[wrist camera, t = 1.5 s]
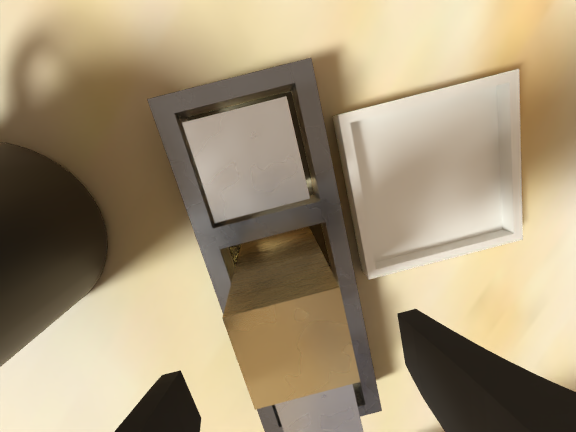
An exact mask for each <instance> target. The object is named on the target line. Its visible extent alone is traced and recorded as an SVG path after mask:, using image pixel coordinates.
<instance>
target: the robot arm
mask: <svg viewBox="0 0 576 432" xmlns="http://www.w3.org/2000/svg"><path fill="white" fill-rule="evenodd" d="M398 321H399V327H400V333H401V339H402V346H403V352H404V358H405V364H406V366H407V368H408V370H409V372H410V374H411V376H412V378H413V380H414V382H415V384H416V386H417V387H418V389H419V391H420V393H421V395H422V397H423V398H424V400H425V402H426V403H427V405H428V406H429V408H430V409H431V411H432V412H433V414H434V415H435V417H436V418H437V420H438V421H439V423H440V424H441V426H442V427H443V429H444V431H445V432H576V392H574V391H572V390H569V389H567V388H565V387H562V386H560V385H558V384H556V383H553V382H551V381H549V380H547V379H544V378H542V377H540V376H538V375H536V374H534V373H532V372H530V371H528V370H526V369H524V368H522V367H520V366H517V365H515V364H513V363H511V362H509V361H507V360H505V359H503V358H501V357H500V356H498V355H496V354H494V353H492V352H490V351H488V350H486V349H484V348H483V347H481V346H479V345H477V344H475V343H473V342H472V341H470V340H468V339H466V338H465V337H463V336H461V335H459V334H458V333H456V332H454V331H452V330H451V329H449V328H447V327H446V326H444V325H442V324H440V323H439V322H437V321H435V320H434V319H432V318H430V317H429V316H427V315H425V314H424V313H422V312H420V311H418V310H417V309H413V310H410V311H406V312H402V313H398ZM200 424H201V417H200V414H199V412H198V410H197V407H196V405H195V403H194V400H193V398H192V396H191V393H190V391H189V389H188V386H187V384H186V382H185V379H184V377H183V375H182V373H181V370H180V371H176V372H173V373H169V374H165V375H162V376H161V377H160V378H159V379H158V380H157V381H156V383H155V384H154V385H153V386H152V387H151V388H150V390H149V391H148V392H147V393H146V394H145V396H144V397H143V398H142V399H141V400H140V402H139V403H138V404H137V405H136V406H135V408H134V409H133V410H132V411H131V413H130V414H129V415H128V416H127V417H126V419H125V420H124V421H123V422H122V423H121V424H120V426H119V427H118V428H117V429H116V430H115V432H200Z"/></svg>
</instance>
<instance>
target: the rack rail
mask: <svg viewBox="0 0 576 432" xmlns="http://www.w3.org/2000/svg"><path fill="white" fill-rule="evenodd" d="M289 91H291V92H292V97H293V101H294V105H295V110H296V114H297V119H298V123H299V128H300V132H301V137H302V141H303V146H304V150H305V155H306V159H307V164H308V168H309V173H310V177H311V181H312V186H313V190H314V194H311V195H309V192H308V188H307V183H306V179H305V175H304V170H303V166H302V162H301V157H300V153H299V149H298V144H297V140H296V135H295V131H294V127H293V122H292V118H291V114H290V109H289V105H288V100H287V96H285V97H281V98H277V99H274V100H270V101H266V102H262V103H258V104H254V105H250V106H246V107H242V108H238V109H234V110H230V111H226V112H222V113H218V114H214V115H210V116H206V117H203V118H199V119H195V120H191V121H188V119H187V117H191V116H195V115H199V114H202V113H206V112H210V111H214V110H218V109H222V108H226V107H230V106H234V105H238V104H242V103H246V102H250V101H254V100H258V99H262V98H266V97H270V96H274V95H277V94H281V93H285V92H289ZM147 100H148V103H149V106H150V108H151V111H152V114H153V117H154V120H155V123H156V125H157V128H158V131H159V134H160V137H161V140H162V142H163V145H164V148H165V151H166V154H167V156H168V159H169V162H170V165H171V168H172V171H173V173H174V176H175V179H176V182H177V185H178V188H179V190H180V193H181V196H182V199H183V202H184V205H185V207H186V210H187V213H188V216H189V219H190V221H191V224H192V227H193V230H194V233H195V236H196V238H197V241H198V244H199V247H200V250H201V253H202V255H203V258H204V261H205V264H206V267H207V270H208V272H209V275H210V278H211V281H212V284H213V286H214V289H215V292H216V295H217V298H218V301H219V303H220V306H221V309H222V312H223V314H224V310H225V306H226V302H227V298H228V294H229V290H230V286H231V282H232V278H233V274H234V270H235V264H234V261H233V258H232V255H231V252H230V249H229V247H230V246H234V245H238V244H242V243H246V242H250V241H254V240H257V239H261V238H265V237H269V236H273V235H277V234H281V233H285V232H289V231H292V230H296V229H300V228H304V227H308V226H312V225H316V224H320V223H321V226H322V231H323V235H324V240H325V244H326V249H327V253H328V258H329V262H330V266H331V271H332V273H333V275H334V277H335V279H336V281H337V283H338V285H339V287H340V291H341V296H342V300H343V305H344V309H345V314H346V319H347V323H348V328H349V332H350V337H351V341H352V346H353V351H354V355H355V360H356V364H357V369H358V373H359V378H360V382H358V383H354V384H350V385H346V386H343V387H339V388H335V389H331V390H327V391H324V392H320V393H316V394H312V395H308V396H305V397H301V398H297V399H293V400H289V401H286V402H282V403H278V404H274V405H271V406H267V407H263V408H259V409H257V411H258V414H259V416H260V419H261V422H262V425H263V428H264V431H265V432H363V428H362V424H361V419H360V416H364V415H368V414H371V413H375V412H379V411H382V409H381V404H380V399H379V394H378V389H377V384H376V379H375V374H374V369H373V364H372V359H371V354H370V349H369V344H368V339H367V334H366V329H365V324H364V319H363V314H362V309H361V304H360V299H359V294H358V289H357V284H356V279H355V274H354V269H353V264H352V259H351V254H350V249H349V244H348V239H347V234H346V229H345V224H344V219H343V214H342V209H341V204H340V199H339V194H338V189H337V184H336V179H335V174H334V169H333V164H332V159H331V154H330V149H329V144H328V139H327V134H326V129H325V124H324V119H323V114H322V109H321V104H320V99H319V94H318V89H317V84H316V79H315V74H314V69H313V64H312V59H311V58H308V59H304V60H300V61H296V62H292V63H288V64H285V65H281V66H277V67H273V68H269V69H265V70H261V71H257V72H253V73H249V74H245V75H241V76H237V77H233V78H229V79H225V80H221V81H217V82H213V83H209V84H205V85H201V86H197V87H193V88H189V89H185V90H182V91H178V92H174V93H170V94H166V95H162V96H158V97H154V98H150V99H147Z"/></svg>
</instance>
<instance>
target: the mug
mask: <svg viewBox="0 0 576 432" xmlns="http://www.w3.org/2000/svg"><path fill="white" fill-rule="evenodd" d="M106 254H107V233H106V228H105V224H104V220H103V218H102V215H101V213H100V210H99V208H98V206H97V205H96V203H95V201H94V200H93V198H92V196H91V195H90V194H89V192H88V191H87V190H86V189H85V187H84V186H83V185H82V184H81V183H80V182H79V181H78V180H77V179H76V178H75V177H74V176H73V175H72V174H71V173H70V172H68V171H67V170H65V169H64V168H63V167H61V166H60V165H58V164H57V163H55V162H54V161H52V160H50V159H48V158H46V157H45V156H43V155H41V154H39V153H36V152H34V151H31V150H29V149H26V148H23V147H20V146H16V145H12V144H8V143H1V142H0V367H1V366H2V365H3V364H4V363H5V362H7V361H8V360H9V359H10V358H11V357H13V356H14V355H15V354H16V353H17V352H19V351H20V350H21V349H22V348H23V347H24V346H26V345H27V344H28V343H29V342H30V341H32V340H33V339H34V338H35V337H36V336H38V335H39V334H40V333H41V332H42V331H44V330H45V329H46V328H47V327H48V326H49V325H51V324H52V323H53V322H54V321H55V320H57V319H58V318H59V317H60V316H61V315H63V314H64V313H65V312H66V311H67V310H69V309H70V308H71V307H72V306H73V305H74V304H76V303H77V302H78V301H79V300H80V299H82V298H83V297H84V296H85V295H86V294H88V292H89V291H90V290H91V289H92V288H93V286H94V285H95V284H96V282H97V280H98V279H99V277H100V275H101V273H102V270H103V267H104V264H105V260H106Z"/></svg>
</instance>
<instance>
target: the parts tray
mask: <svg viewBox="0 0 576 432" xmlns="http://www.w3.org/2000/svg"><path fill="white" fill-rule="evenodd" d="M333 122H334V127H335V133H336V138H337V143H338V148H339V153H340V159H341V164H342V169H343V174H344V180H345V185H346V190H347V195H348V200H349V206H350V211H351V216H352V221H353V227H354V232H355V237H356V242H357V247H358V253H359V258H360V263H361V268H362V271H363V272H364V274H365V275H366V276H367V278H368V279H373V278H377V277H381V276H385V275H388V274H392V273H396V272H400V271H404V270H408V269H411V268H415V267H419V266H423V265H427V264H431V263H435V262H438V261H442V260H446V259H450V258H454V257H458V256H462V255H465V254H469V253H473V252H477V251H481V250H485V249H488V248H492V247H496V246H500V245H504V244H508V243H512V242H515V241H519V240H523V225H522V178H521V131H520V84H519V69H516V70H512V71H508V72H504V73H500V74H496V75H492V76H488V77H484V78H480V79H476V80H473V81H469V82H465V83H461V84H457V85H453V86H449V87H445V88H441V89H437V90H433V91H429V92H425V93H421V94H418V95H414V96H410V97H406V98H402V99H398V100H394V101H390V102H386V103H382V104H378V105H374V106H370V107H366V108H362V109H359V110H355V111H351V112H347V113H343V114H339V115H336V116H334V117H333Z"/></svg>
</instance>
